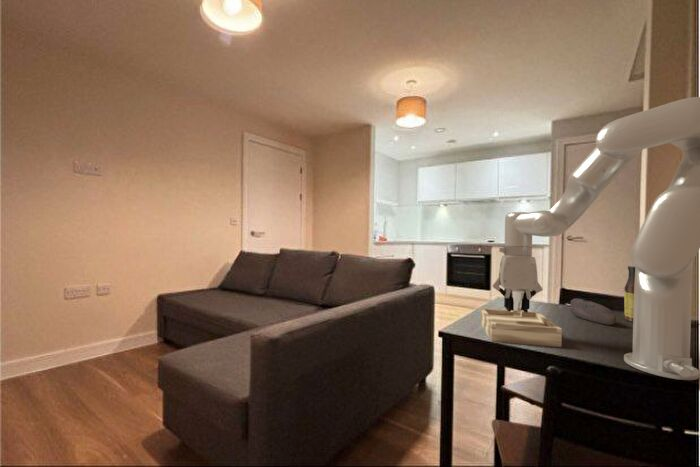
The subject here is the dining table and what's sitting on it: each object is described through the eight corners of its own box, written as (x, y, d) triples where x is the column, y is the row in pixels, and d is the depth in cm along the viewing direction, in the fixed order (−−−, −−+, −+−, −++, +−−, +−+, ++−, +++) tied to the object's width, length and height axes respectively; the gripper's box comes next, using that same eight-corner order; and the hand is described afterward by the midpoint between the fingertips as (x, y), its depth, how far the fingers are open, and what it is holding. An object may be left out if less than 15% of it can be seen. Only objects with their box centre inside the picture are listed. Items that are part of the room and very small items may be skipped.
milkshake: (519, 319, 93) (521, 285, 93) (503, 314, 98) (506, 282, 98) (529, 317, 95) (531, 285, 95) (513, 313, 100) (515, 282, 99)
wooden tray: (561, 348, 86) (561, 328, 85) (491, 342, 90) (491, 323, 90) (537, 328, 103) (538, 312, 103) (480, 324, 107) (480, 308, 107)
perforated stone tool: (621, 327, 104) (622, 307, 104) (609, 328, 103) (609, 307, 103) (579, 315, 118) (579, 297, 118) (568, 316, 117) (568, 297, 117)
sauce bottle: (638, 319, 114) (639, 265, 114) (653, 324, 108) (654, 267, 107) (618, 318, 114) (620, 264, 114) (632, 323, 108) (634, 266, 108)
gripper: (491, 252, 94) (490, 311, 95) (553, 253, 90) (551, 316, 91) (486, 250, 102) (485, 305, 102) (543, 252, 98) (542, 309, 98)
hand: (516, 310), depth 96 cm, fingers closed on milkshake, 4 cm apart
